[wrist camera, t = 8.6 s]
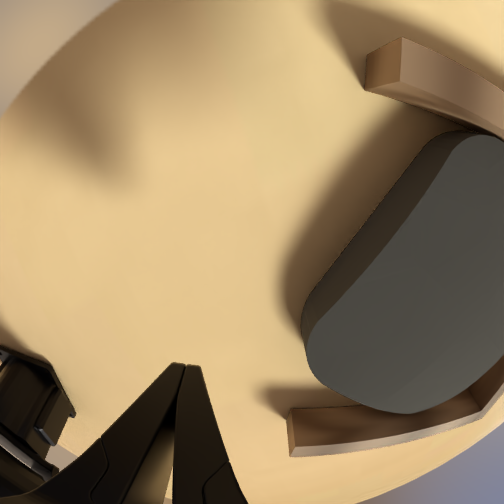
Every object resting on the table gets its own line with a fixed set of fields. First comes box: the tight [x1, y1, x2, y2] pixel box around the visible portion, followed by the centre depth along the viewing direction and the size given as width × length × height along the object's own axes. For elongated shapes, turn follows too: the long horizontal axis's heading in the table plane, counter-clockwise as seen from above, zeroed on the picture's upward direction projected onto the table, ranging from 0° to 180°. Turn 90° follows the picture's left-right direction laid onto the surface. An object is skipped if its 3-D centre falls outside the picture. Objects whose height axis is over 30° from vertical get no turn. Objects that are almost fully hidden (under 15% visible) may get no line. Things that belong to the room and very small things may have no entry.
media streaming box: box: [301, 131, 504, 414], centre depth 12 cm, size 15×15×3 cm
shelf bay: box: [286, 37, 504, 457], centre depth 12 cm, size 18×21×3 cm
